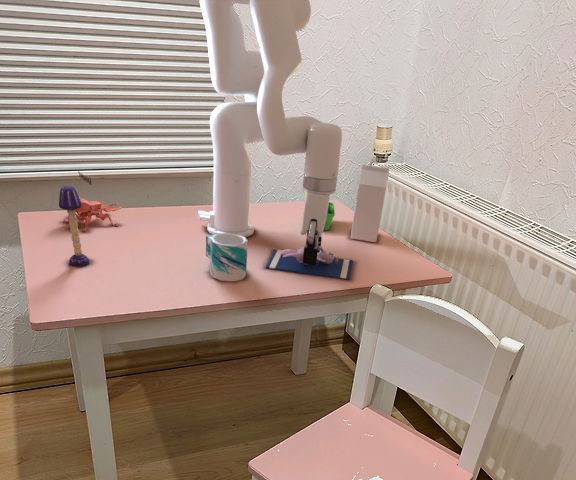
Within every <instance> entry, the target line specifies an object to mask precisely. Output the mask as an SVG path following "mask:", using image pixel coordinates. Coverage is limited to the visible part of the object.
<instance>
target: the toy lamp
mask: <svg viewBox="0 0 576 480" xmlns="http://www.w3.org/2000/svg"><path fill="white" fill-rule="evenodd" d="M80 198H81V197H80V195H79V194H78V191H77V188H76V187H74V186H72V185H65V186H61V187H60V189H59V197H58V207H59V209H61V210H66V212H67V219H68V221H69V223H68V224H69V230H70V231H69V232H70V235H71V242H72V247H73V253H74V254H72V255H71V256H70V258H69V265H71V266H74V267H83V266H87V265H88V264H90V259H89V257H88V256H87V255H86V254H84V253H83V250H82V243H81V237H80V235H79V234H80V230H79V225H78V221H76V220H77V217H76V215H75V213H76V210H75V209H78V208H81V207H82V203H81V201H80ZM76 214H77V213H76ZM70 228H71V229H70Z"/></svg>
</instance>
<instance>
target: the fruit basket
mask: <svg viewBox="0 0 576 480" xmlns="http://www.w3.org/2000/svg"><path fill="white" fill-rule="evenodd" d="M306 193H307V192H306V191H305V190H304V196H305V197H304V199H305V198H306ZM335 216H336V213H335V204H334V203H333V202H330V201H329V205H328V212H327V218H326V222H325V226H324V230H323V231H329V230H330V226H331V224H332V222H333V219H334V218H335Z"/></svg>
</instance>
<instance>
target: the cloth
mask: <svg viewBox="0 0 576 480" xmlns="http://www.w3.org/2000/svg"><path fill="white" fill-rule="evenodd" d="M282 251H284V249H283V250H282V249H277V248H276V249H273V252H272V253H271V256H270V258H269V260H268V262H267V264H266V265H265V269H268V270H275V271H282V272H288V273H295V274H302V275H303V274H304V275H310V276H317V277H324V278H331V279H339V280H345V281H350V277H351V273H352V267H353V262H354V260H353V259H347V258H339V257H338V262H336V258H337V257H336V258H334V260H333V261H332V263H331V264H325V263H322V262H320V261H319V262H316V265H310V264H308V265H306V264H303V263H300V262H299V261H298V260H297V258H296V257H294V256H288V257H282V256H284V255H280V253H281V252H282ZM336 263H337V264H336Z"/></svg>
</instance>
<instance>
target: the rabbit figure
mask: <svg viewBox="0 0 576 480" xmlns="http://www.w3.org/2000/svg"><path fill="white" fill-rule="evenodd" d="M319 243H320V242H318V244H319ZM318 244H317V248H318V251H320V252H319V253H317V262H319V261H320V262H322V263H325V264H331V263H332V261H333V260H334V258H336V262H338V258H339V257H340V256H337V257H336V255H334V254H335V252H333V253H332V252H327V251H325V250H324V248H323V247H322V246H321V247H320V246H318ZM280 255H284V256H282V257H288V256H294V257H296V258H297V260H298V261H299V262H300V263H303V255H304V247H300V248H298V249H293V248H286V249H283V251H282V252H281V253H280ZM303 264H304V263H303ZM336 264H337V263H336ZM306 265H308V264H306Z"/></svg>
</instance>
